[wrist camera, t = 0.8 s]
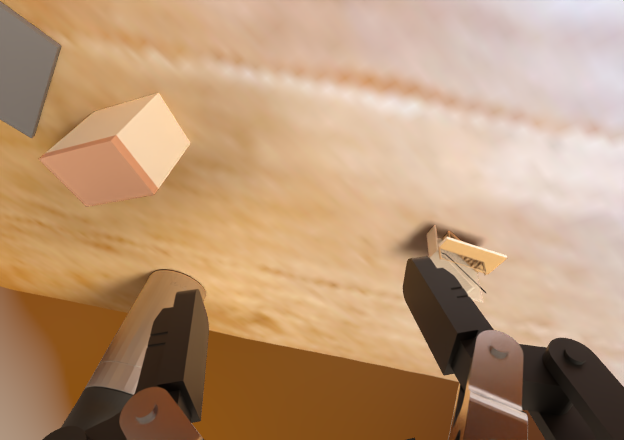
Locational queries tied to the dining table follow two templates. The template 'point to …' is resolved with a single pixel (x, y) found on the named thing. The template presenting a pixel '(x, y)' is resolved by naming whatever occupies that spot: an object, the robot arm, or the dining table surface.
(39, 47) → the mat
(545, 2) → the dining table surface
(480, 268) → the architectural model
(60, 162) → the block
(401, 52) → the dining table surface
